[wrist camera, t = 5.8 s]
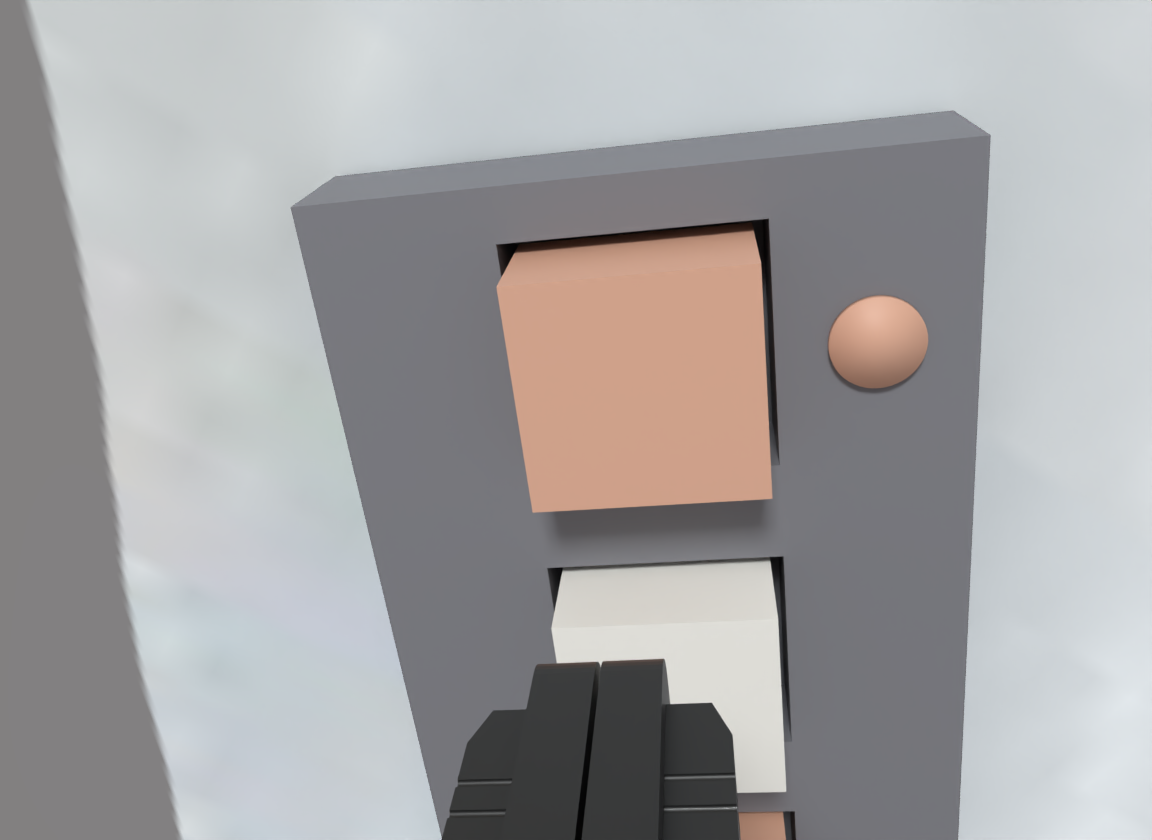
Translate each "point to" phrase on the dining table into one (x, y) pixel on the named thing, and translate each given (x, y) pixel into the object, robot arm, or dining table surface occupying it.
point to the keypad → (699, 530)
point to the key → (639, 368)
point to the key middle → (690, 643)
